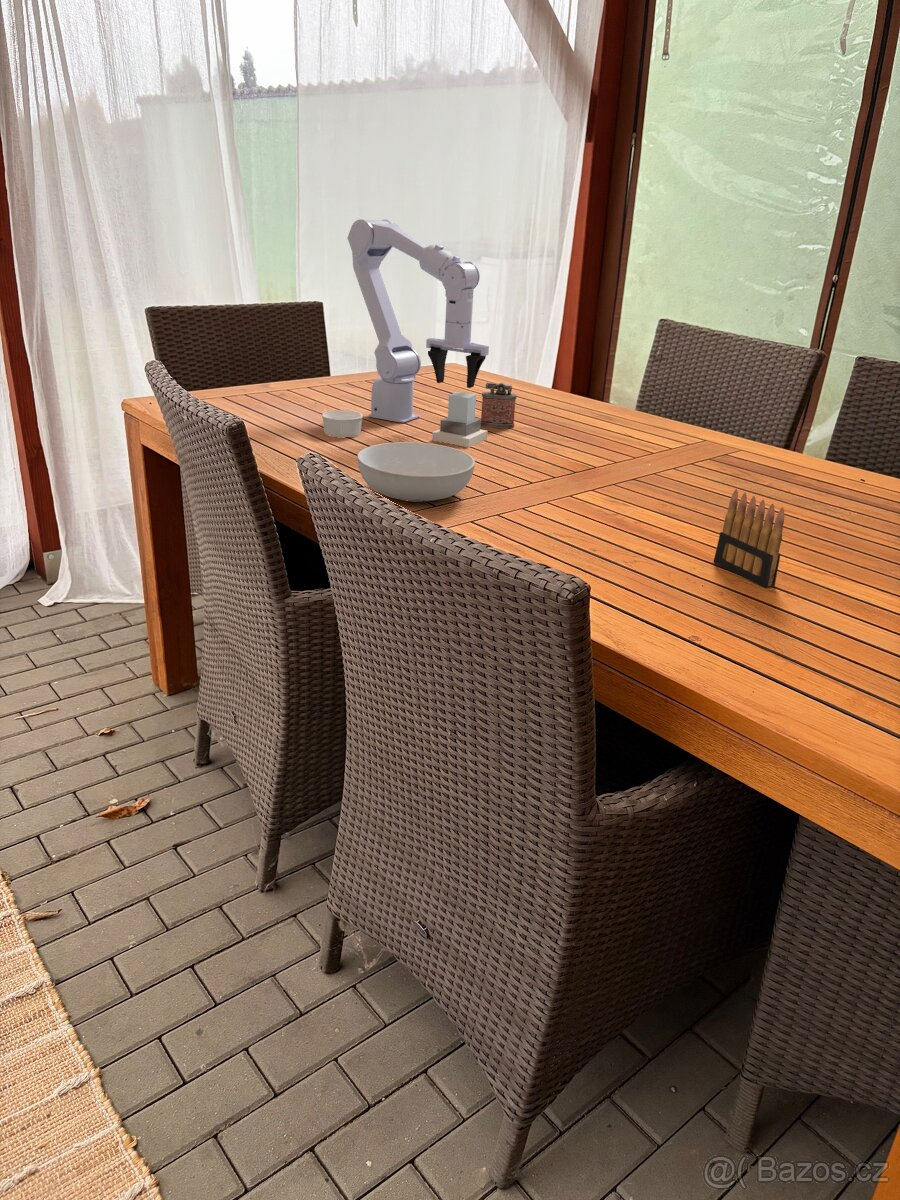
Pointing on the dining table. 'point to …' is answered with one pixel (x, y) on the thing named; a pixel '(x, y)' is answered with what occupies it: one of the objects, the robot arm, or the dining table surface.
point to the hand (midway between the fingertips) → (455, 384)
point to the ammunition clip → (750, 541)
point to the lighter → (498, 406)
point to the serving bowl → (415, 470)
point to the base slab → (460, 438)
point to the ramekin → (342, 423)
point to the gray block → (461, 407)
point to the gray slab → (460, 427)
